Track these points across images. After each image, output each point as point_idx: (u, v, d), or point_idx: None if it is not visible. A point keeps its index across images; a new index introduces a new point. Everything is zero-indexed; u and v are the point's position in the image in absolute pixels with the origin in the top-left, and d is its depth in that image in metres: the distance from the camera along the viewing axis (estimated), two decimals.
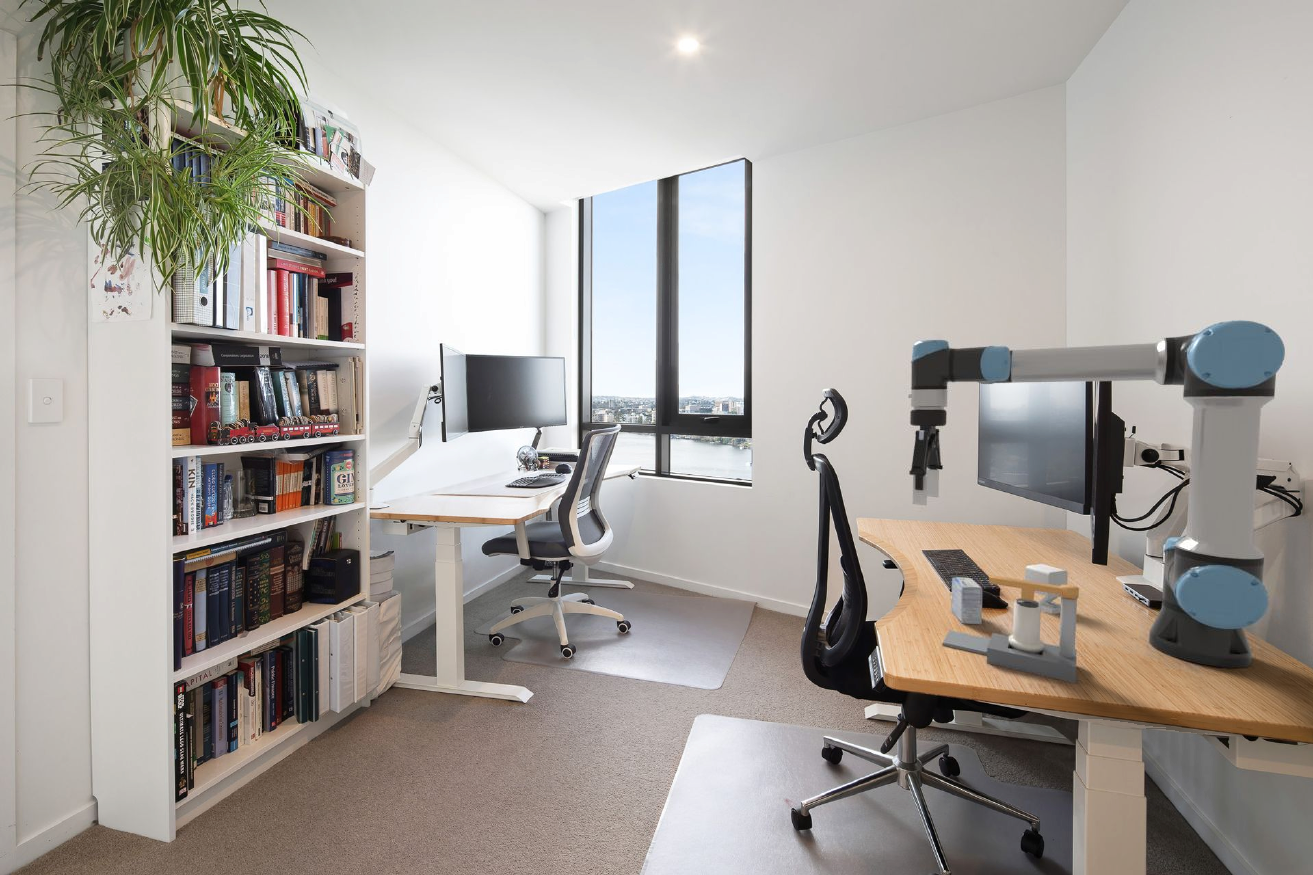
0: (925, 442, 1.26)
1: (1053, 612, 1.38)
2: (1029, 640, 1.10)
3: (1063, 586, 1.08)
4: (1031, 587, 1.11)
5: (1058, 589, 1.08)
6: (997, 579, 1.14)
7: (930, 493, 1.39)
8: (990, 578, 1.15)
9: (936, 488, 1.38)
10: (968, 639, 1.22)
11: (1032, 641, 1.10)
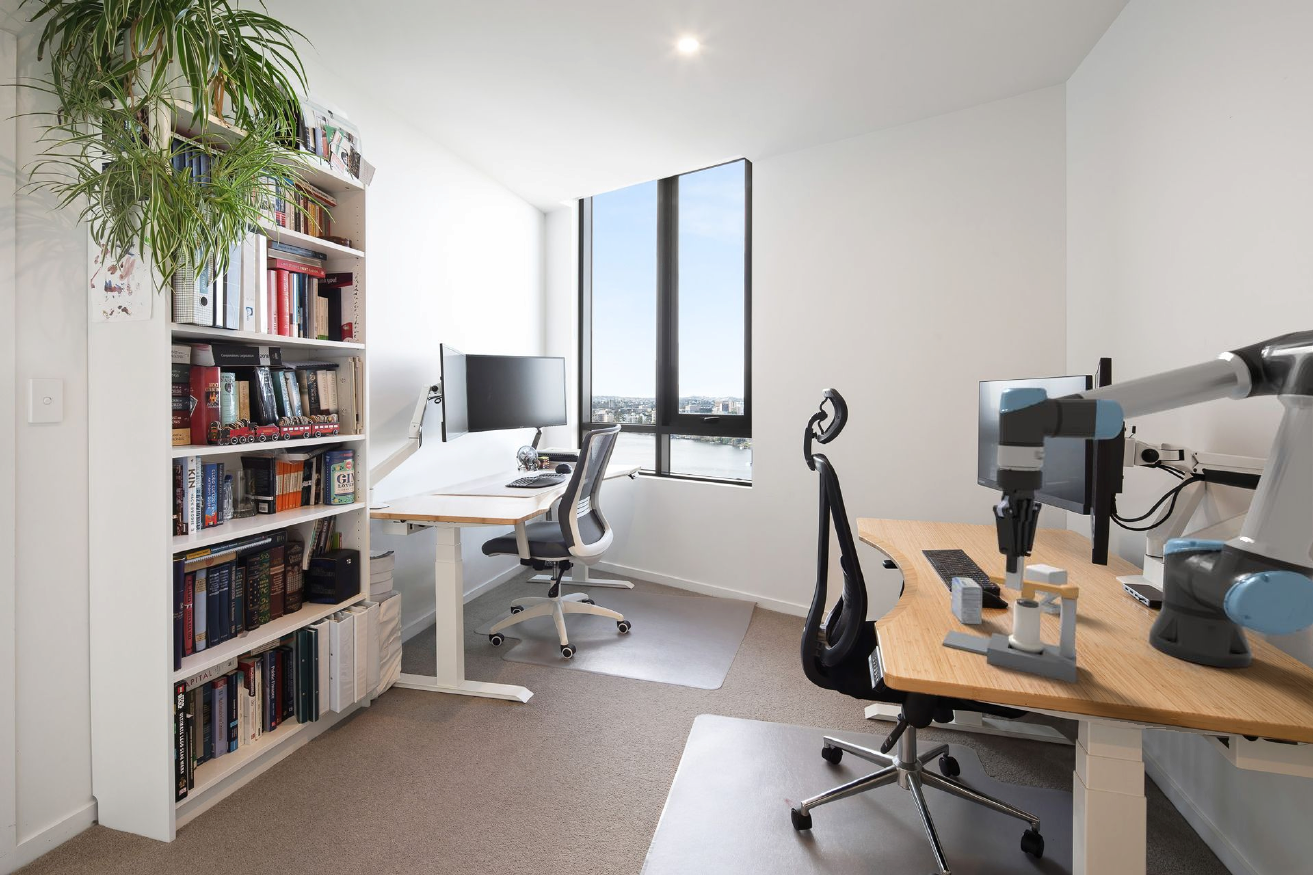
0: None
1: (1053, 612, 1.38)
2: (1029, 640, 1.10)
3: (1063, 586, 1.08)
4: (1031, 586, 1.11)
5: (1058, 589, 1.08)
6: (997, 578, 1.15)
7: None
8: (990, 577, 1.16)
9: None
10: (968, 639, 1.22)
11: (1032, 641, 1.10)
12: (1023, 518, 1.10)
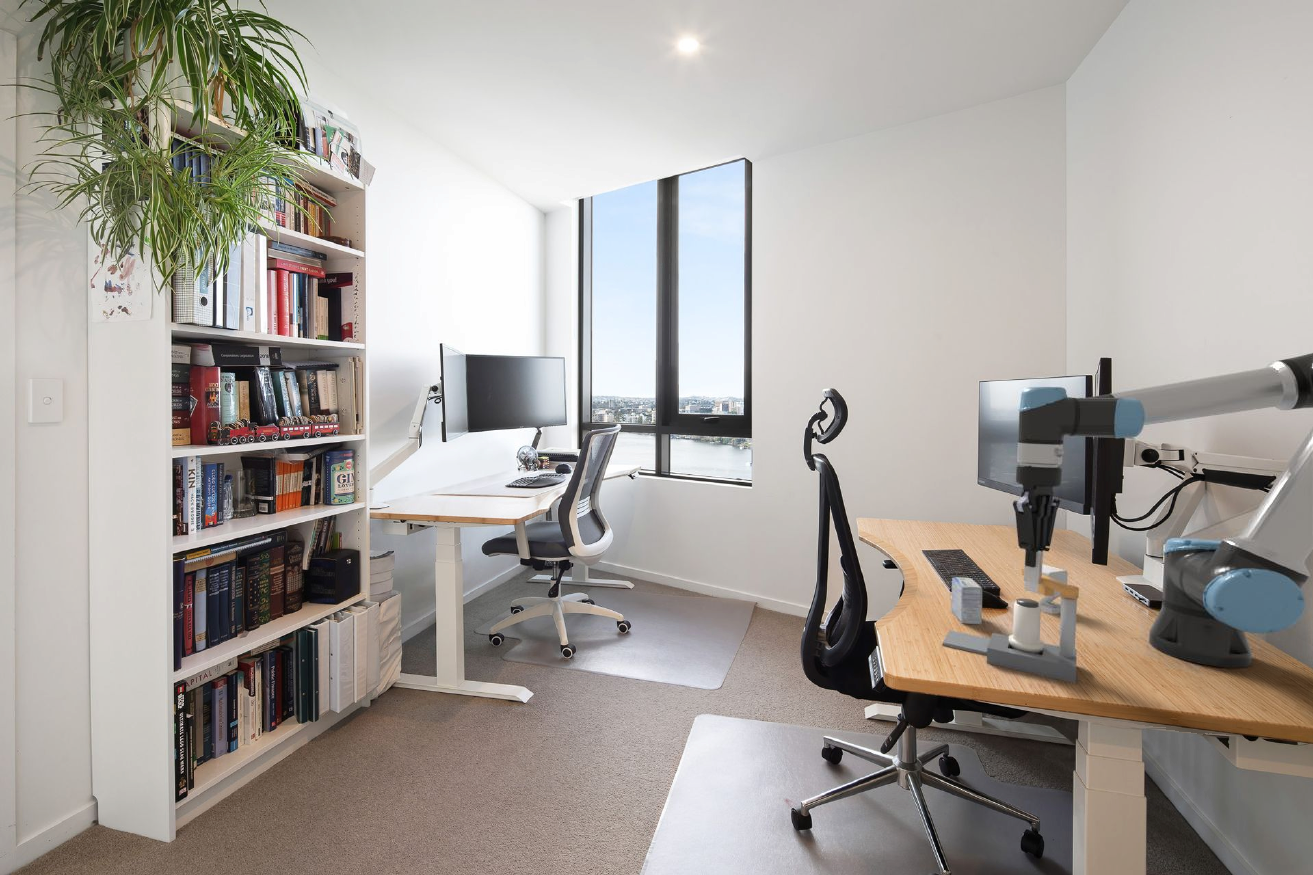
0: None
1: (1053, 612, 1.38)
2: (1029, 640, 1.10)
3: (1064, 585, 1.09)
4: (1043, 582, 1.14)
5: (1058, 587, 1.10)
6: None
7: None
8: (1022, 569, 1.21)
9: None
10: (968, 639, 1.22)
11: (1032, 641, 1.10)
12: (1042, 513, 1.13)
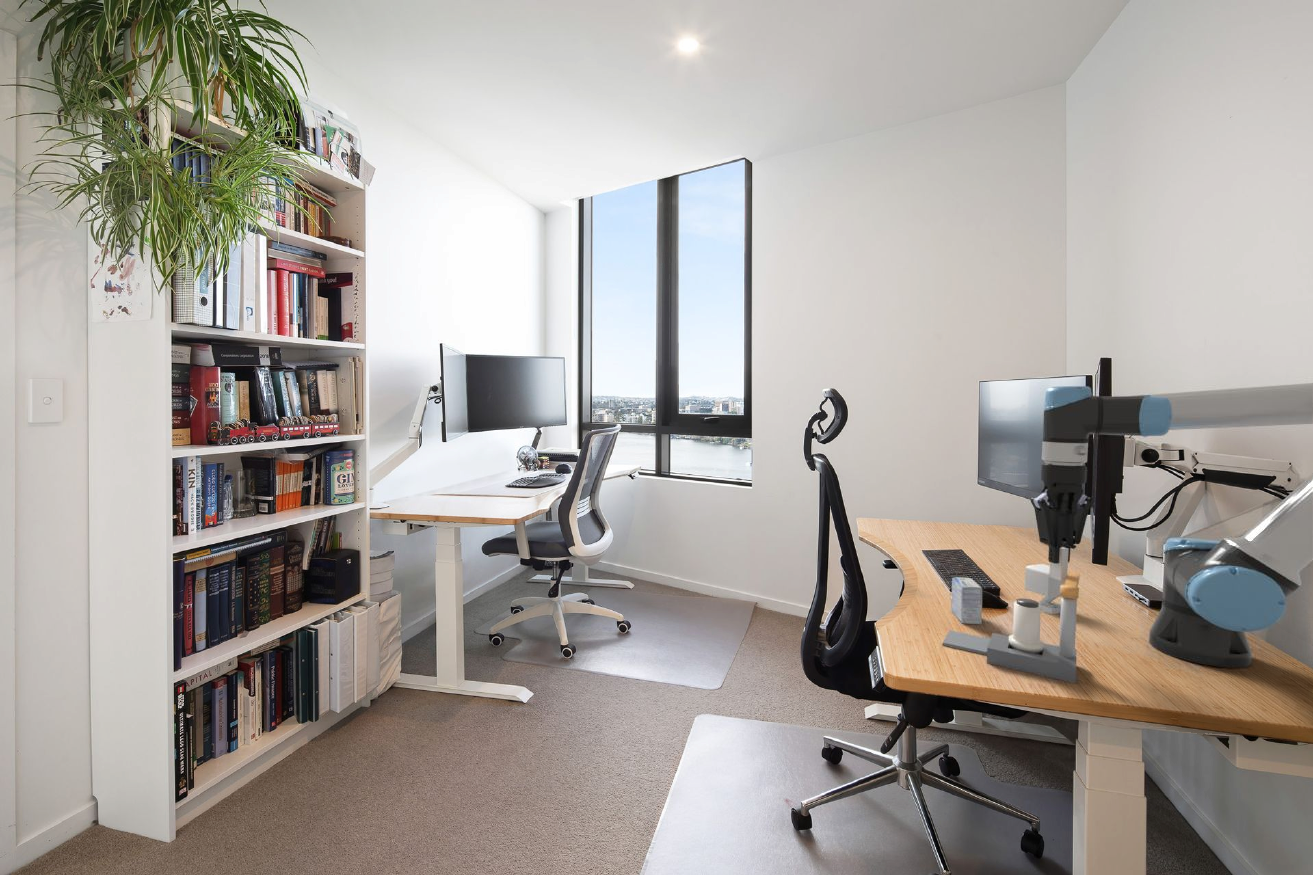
0: None
1: (1053, 612, 1.38)
2: (1029, 640, 1.10)
3: (1068, 585, 1.09)
4: None
5: None
6: (1068, 574, 1.18)
7: None
8: (1068, 573, 1.18)
9: None
10: (968, 639, 1.22)
11: (1032, 641, 1.10)
12: (1064, 511, 1.15)
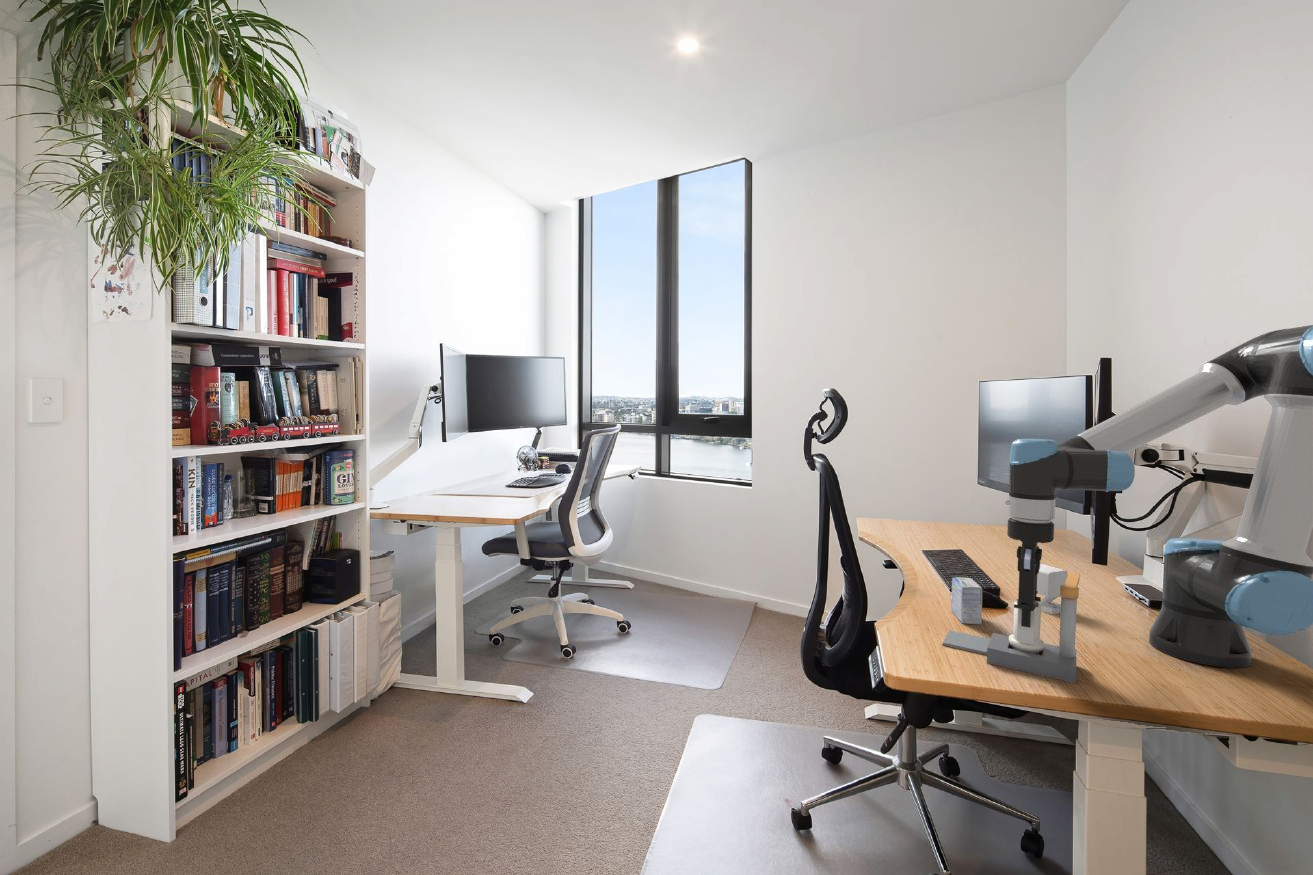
0: (1032, 573, 1.06)
1: (1053, 612, 1.38)
2: None
3: (1068, 585, 1.09)
4: None
5: None
6: None
7: None
8: (1068, 573, 1.18)
9: None
10: (968, 639, 1.22)
11: None
12: None
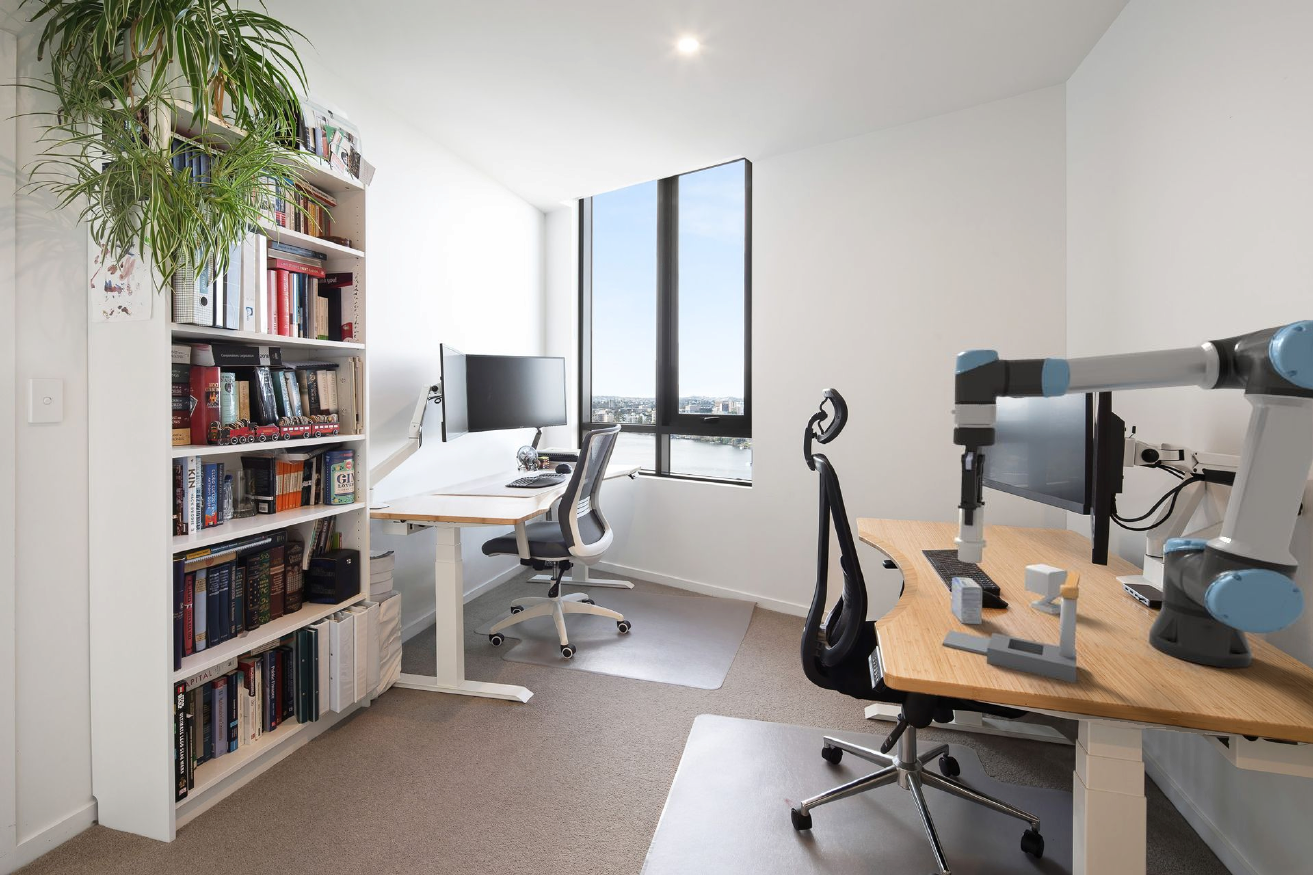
0: (973, 473, 1.14)
1: (1053, 612, 1.38)
2: None
3: (1068, 585, 1.09)
4: None
5: None
6: None
7: None
8: (1068, 573, 1.18)
9: None
10: (968, 639, 1.22)
11: None
12: None
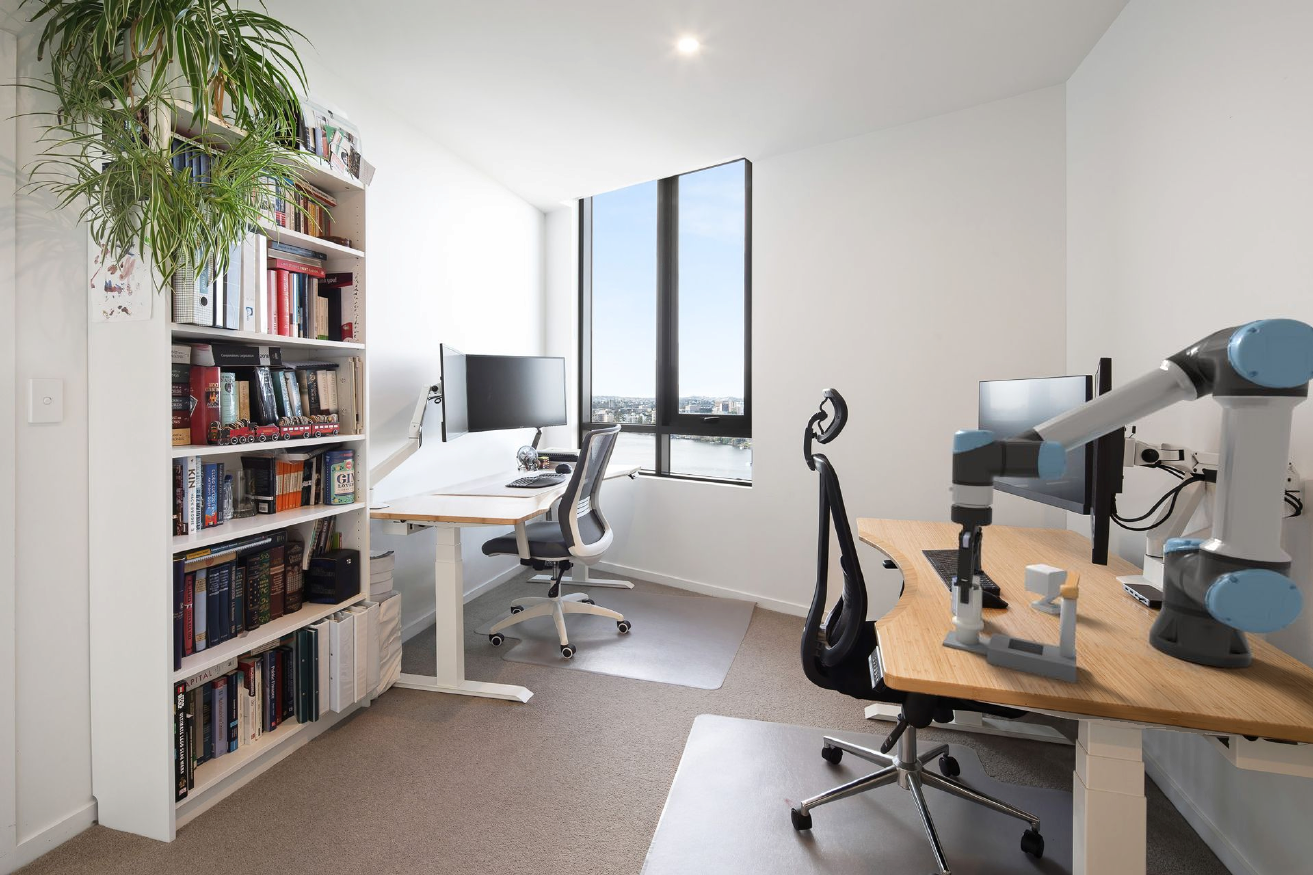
0: (970, 551, 1.14)
1: (1053, 612, 1.38)
2: (970, 620, 1.19)
3: (1068, 585, 1.09)
4: None
5: None
6: None
7: None
8: (1068, 573, 1.18)
9: None
10: None
11: (972, 621, 1.19)
12: None
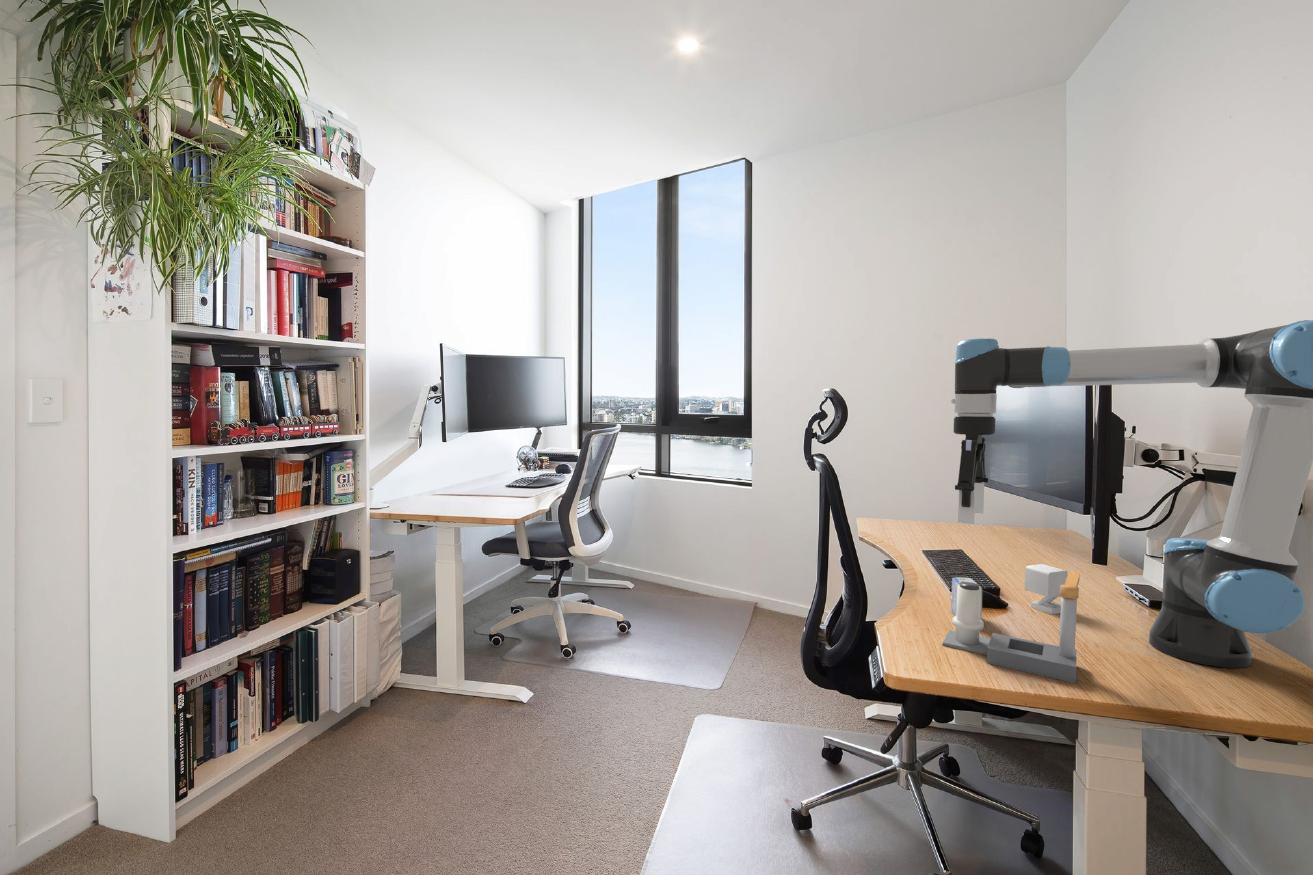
0: (973, 453, 1.13)
1: (1053, 612, 1.38)
2: (970, 620, 1.19)
3: (1068, 585, 1.09)
4: None
5: None
6: None
7: None
8: (1068, 573, 1.18)
9: (981, 503, 1.24)
10: None
11: (972, 621, 1.19)
12: None
